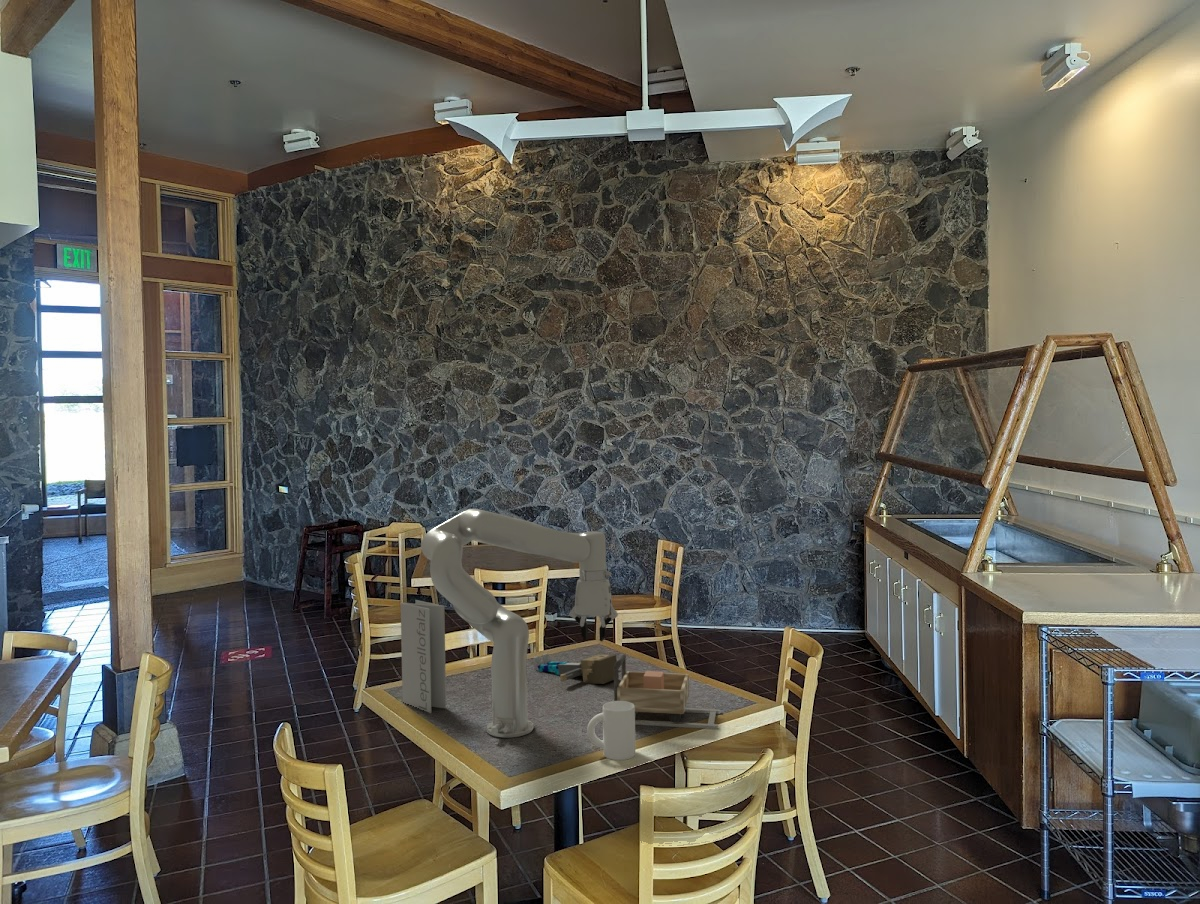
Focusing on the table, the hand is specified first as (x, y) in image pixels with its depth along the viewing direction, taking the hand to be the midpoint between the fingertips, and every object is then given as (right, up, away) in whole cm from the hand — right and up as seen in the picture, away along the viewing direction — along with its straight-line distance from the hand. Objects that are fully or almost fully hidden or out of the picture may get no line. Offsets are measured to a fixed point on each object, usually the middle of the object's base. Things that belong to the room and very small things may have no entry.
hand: (593, 639), depth 231 cm
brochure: (-50, -22, +10) cm, 56 cm away
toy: (-7, -21, +38) cm, 44 cm away
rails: (+22, -21, -4) cm, 31 cm away
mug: (+5, -22, -29) cm, 37 cm away
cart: (+16, -20, -3) cm, 26 cm away
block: (+17, -16, -3) cm, 23 cm away
